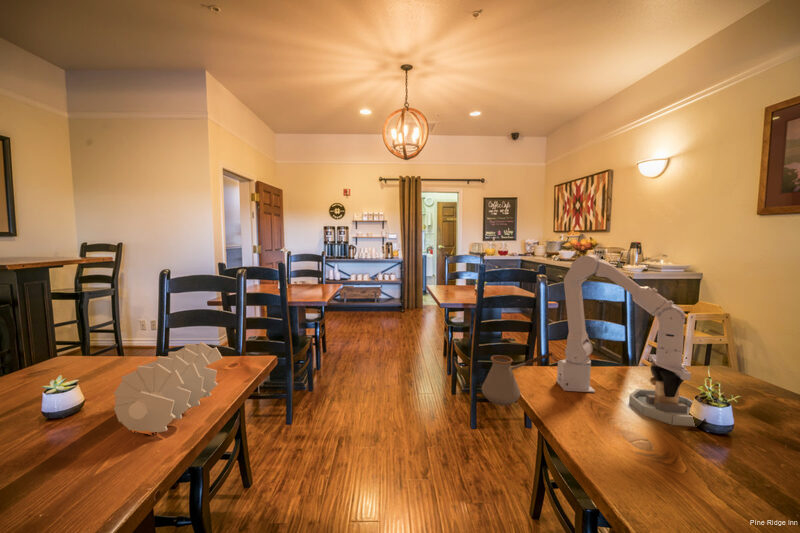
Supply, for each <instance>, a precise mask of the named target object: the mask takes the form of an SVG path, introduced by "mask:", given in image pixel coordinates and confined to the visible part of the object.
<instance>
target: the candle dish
mask: <svg viewBox="0 0 800 533" xmlns="http://www.w3.org/2000/svg"><path fill="white" fill-rule="evenodd" d="M654 398H655V389H648V388H647V389H645V388H637V389H635V390H634V391H632V392H631V393H629V401H628V403H629V404H630V405H631V406H632V407H633V408H634V409H635V410H637V412H638V413H640V414H641V415H643V416H646V417H648V418H651V419H654V420H657V421H659V422H663V423H665V424H668V425H671V426H684V427H685V426H686V427H696V426H695V423H694V420H693V416H691V415H689V411H690V407H691V405H692V403H693V402H694V401H693V400H692V399H690V398H688V397H686V396H682V395H679V400H678V403H664V402H656V405H655V404H654Z"/></svg>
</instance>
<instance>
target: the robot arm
mask: <svg viewBox="0 0 800 533" xmlns="http://www.w3.org/2000/svg"><path fill="white" fill-rule="evenodd" d="M593 275H595V277H599V278H600V277H602V278H607V279H609V280H611V281H612V282H613V283H615V284H616V285H617V286H619V287H620V288H622V289H623V290H625V291H626V292H627V293H629V294H630V295H631V296H632V298H631V299H632V301H633V302H634V303H635V304H637V305H638V306H640V307H641V308H642V309H643V310H645V311H646V312H647V313H648V314H650V315H651V316H653V317H656V318H657V321H658V323H659V324H658V327H659V328H658V329H657V339H656V340H657V341H656V352H655V353H656V354H650V353H649V354H648V361H649V362H651V363H652V362H654V363H655V364H656V366H651V365H650V370H651V369H652V371H653V373H654V375H655V377H656V379H655V381H663V383H664V393H665V396H666V397H675V394H676V392H677V390H678V388H679V386H680V385H682V383H683V382H684V381H692V373H691V372H690V371H688V370H687V365H686V364H685V363H684V362H683V355H684V354H683V353H684V352H683V351H684V338H685V334H684V330H685V328H684V325H685V323H686V313H685V311H684V310H683V309H682V308H681V306H680V305H679V304H674V303H675V302H674V301H673V300H668V299H667V298H665V297H663V295H661V294H659V293H658V291H659V290H658V289H656V287H653V288H651V287H650V286H640V285H639V284H638V283H636V282H635V281H634V280H633V279H631V278H630V277H629V276H627V275H626V274H625V273H624V272H622V271H621V270H620V269H618V268H617V267H616V266H614V264H612V263H610V262H608V261H607V260H605V259H602V258H601V257H600V256H599V255H597V254H587V255H581V256H579V257H577V258H576V259H574V261H573V262H571V265H570V267H569V270H568V271H567V272H566V274H565V276H564V277H563V285H564V286H563V288H564V294H565V295H564V297H565V308H566V318H567V326H568V334H567V338H566V347H565V349H564V354H565V355H564V356H565V358H564V359H559V360H558V361H557V373H556V375H557V376H556V382H557V384H558V385H559V386H560V387H561V388H562V390H563V391H567V392H580V393H581V392H583V393H584V392H585V393H595V392H596V390H595V389H594V388H593V387H592V386H591V371H592V369H591V368H592V367H591V366H592V360H591V359H590V355H591V354H592V353H593V349H594V348H593V345H592V343H591V341H590V339H589V334H588V332H587V328H586V320H585V318H586V317H585V311H584V310H585V309H584V298H583V288H582V284H583V283H584V282H585V281H586V280H587V279H589V277H591V276H593ZM680 387H681V386H680Z"/></svg>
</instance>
